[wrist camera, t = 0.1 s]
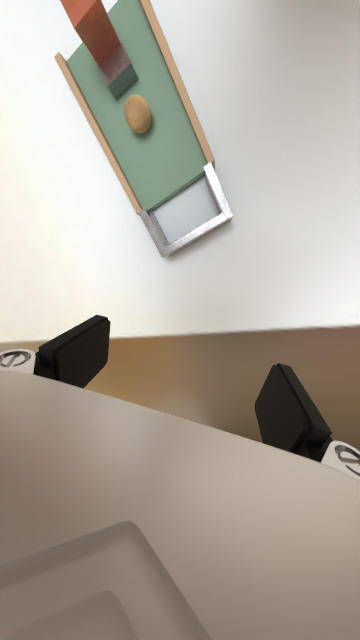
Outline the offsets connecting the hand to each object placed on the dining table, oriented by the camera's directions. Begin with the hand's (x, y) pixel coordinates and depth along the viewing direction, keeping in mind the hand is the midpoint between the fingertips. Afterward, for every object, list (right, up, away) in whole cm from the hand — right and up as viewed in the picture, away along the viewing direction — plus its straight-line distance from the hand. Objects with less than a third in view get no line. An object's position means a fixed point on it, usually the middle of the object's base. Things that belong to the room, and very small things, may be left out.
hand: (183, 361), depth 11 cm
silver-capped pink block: (-10, +41, +18) cm, 46 cm away
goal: (+1, +22, +25) cm, 34 cm away
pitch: (-6, +36, +22) cm, 42 cm away
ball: (-7, +34, +18) cm, 39 cm away
